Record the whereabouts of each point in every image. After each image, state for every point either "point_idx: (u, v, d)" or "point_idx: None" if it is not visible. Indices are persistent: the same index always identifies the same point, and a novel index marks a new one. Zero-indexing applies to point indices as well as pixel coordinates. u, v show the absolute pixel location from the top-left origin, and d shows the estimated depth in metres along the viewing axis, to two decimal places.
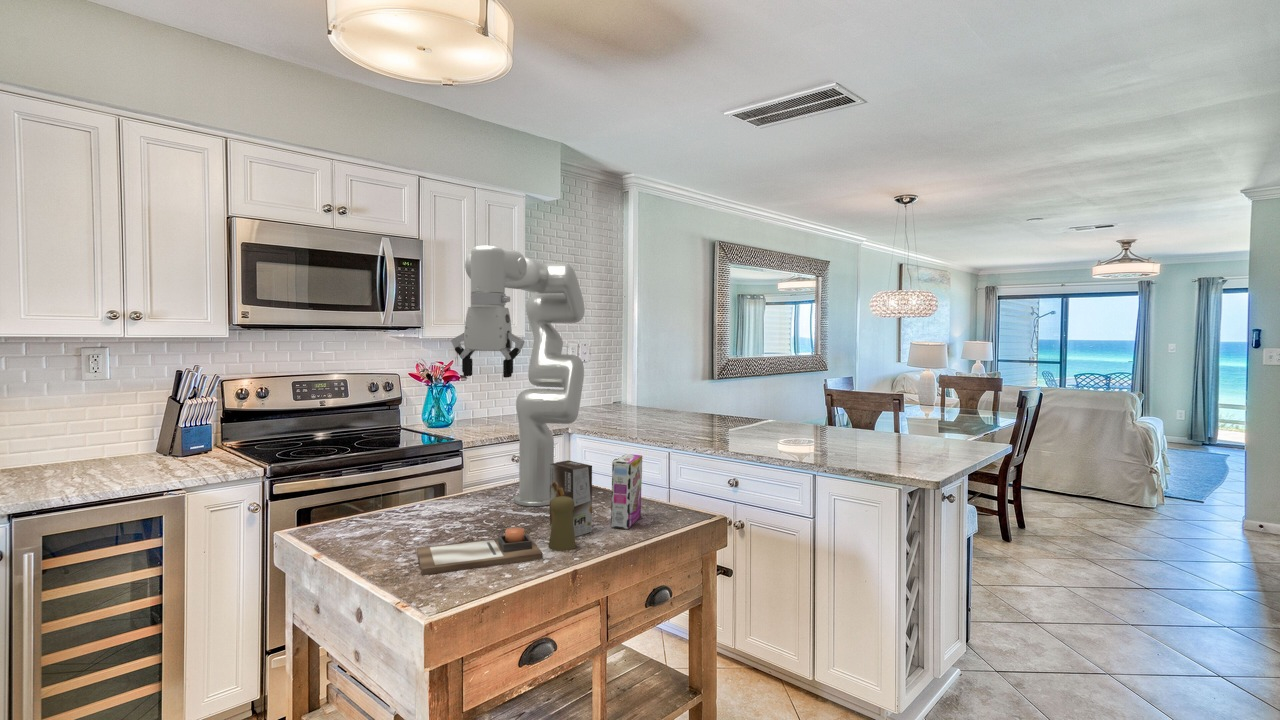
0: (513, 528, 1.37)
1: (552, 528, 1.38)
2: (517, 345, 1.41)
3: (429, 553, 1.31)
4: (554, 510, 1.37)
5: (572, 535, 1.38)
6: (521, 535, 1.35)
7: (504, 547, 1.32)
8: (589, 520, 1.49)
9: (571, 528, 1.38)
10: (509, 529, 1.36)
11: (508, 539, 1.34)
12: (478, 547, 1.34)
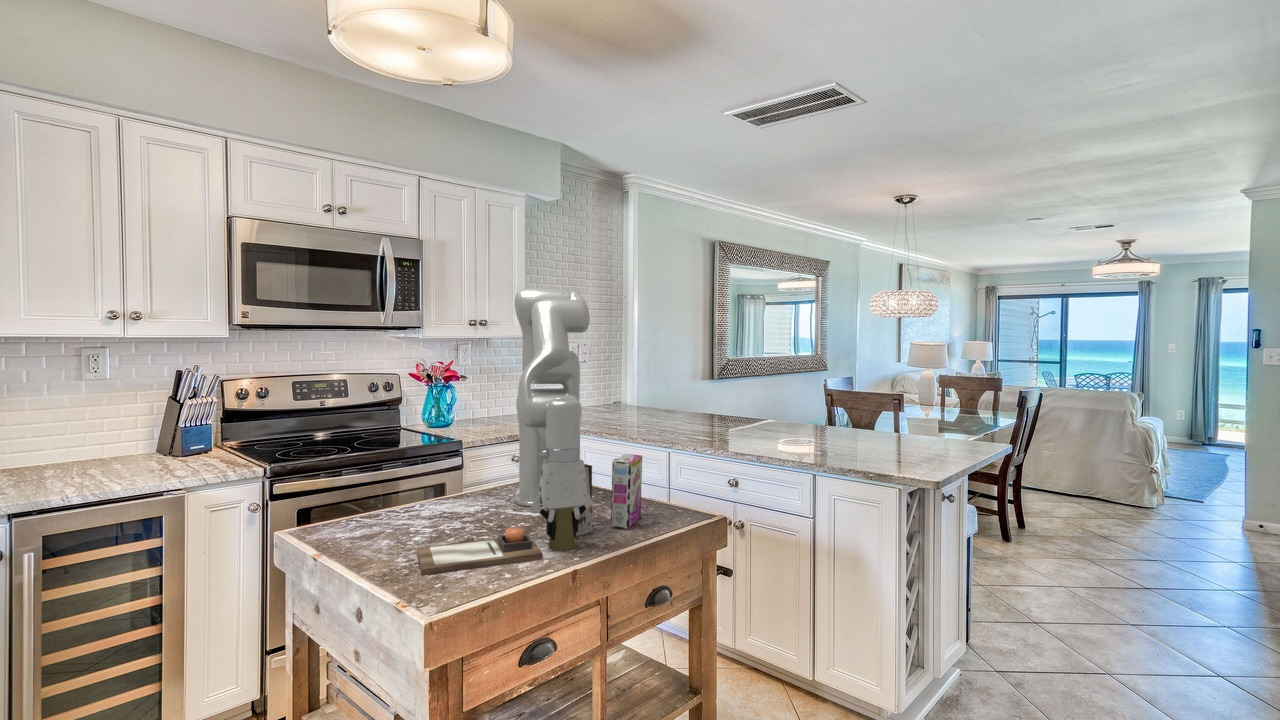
0: (513, 528, 1.37)
1: None
2: None
3: (429, 553, 1.31)
4: None
5: (572, 535, 1.38)
6: (521, 535, 1.35)
7: (504, 547, 1.32)
8: (589, 520, 1.49)
9: (571, 528, 1.38)
10: (509, 529, 1.36)
11: (508, 539, 1.34)
12: (478, 547, 1.34)
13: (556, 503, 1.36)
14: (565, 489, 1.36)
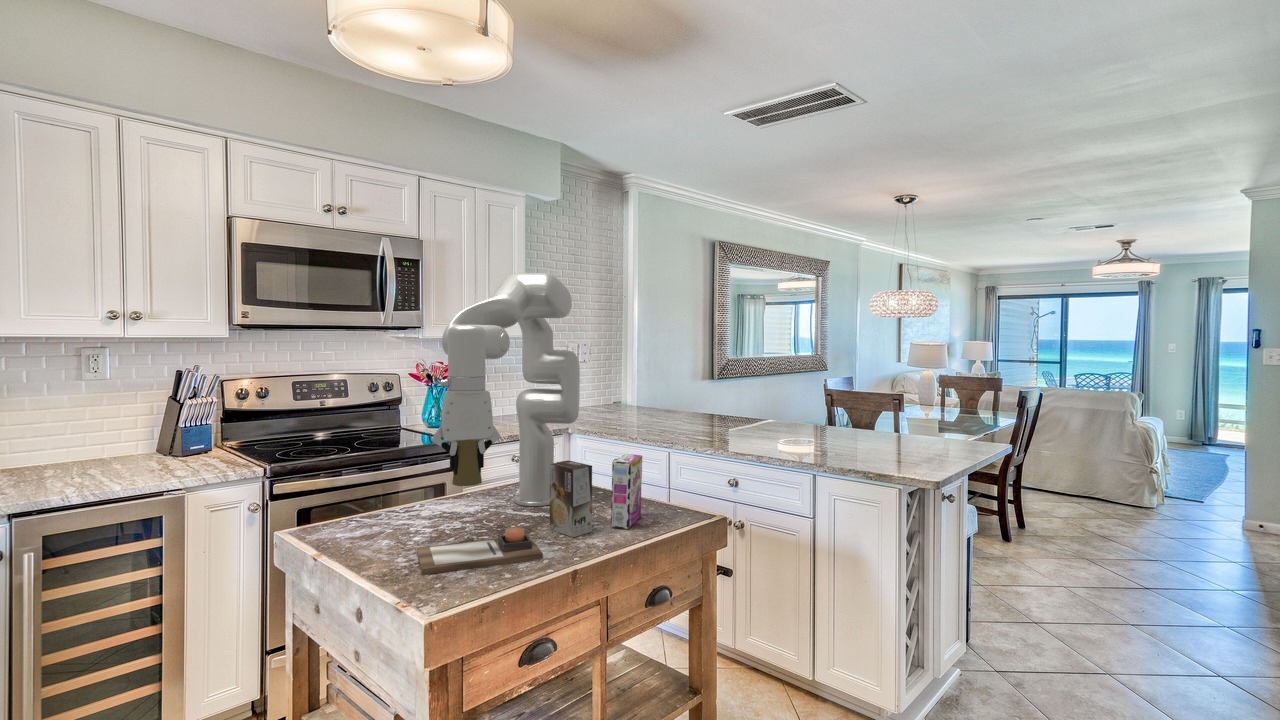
0: (513, 528, 1.37)
1: None
2: None
3: (429, 553, 1.31)
4: (457, 443, 1.29)
5: (477, 470, 1.30)
6: (521, 535, 1.35)
7: (504, 547, 1.32)
8: (589, 520, 1.49)
9: (476, 463, 1.30)
10: (509, 529, 1.36)
11: (508, 539, 1.34)
12: (478, 547, 1.34)
13: (457, 435, 1.27)
14: (468, 420, 1.28)
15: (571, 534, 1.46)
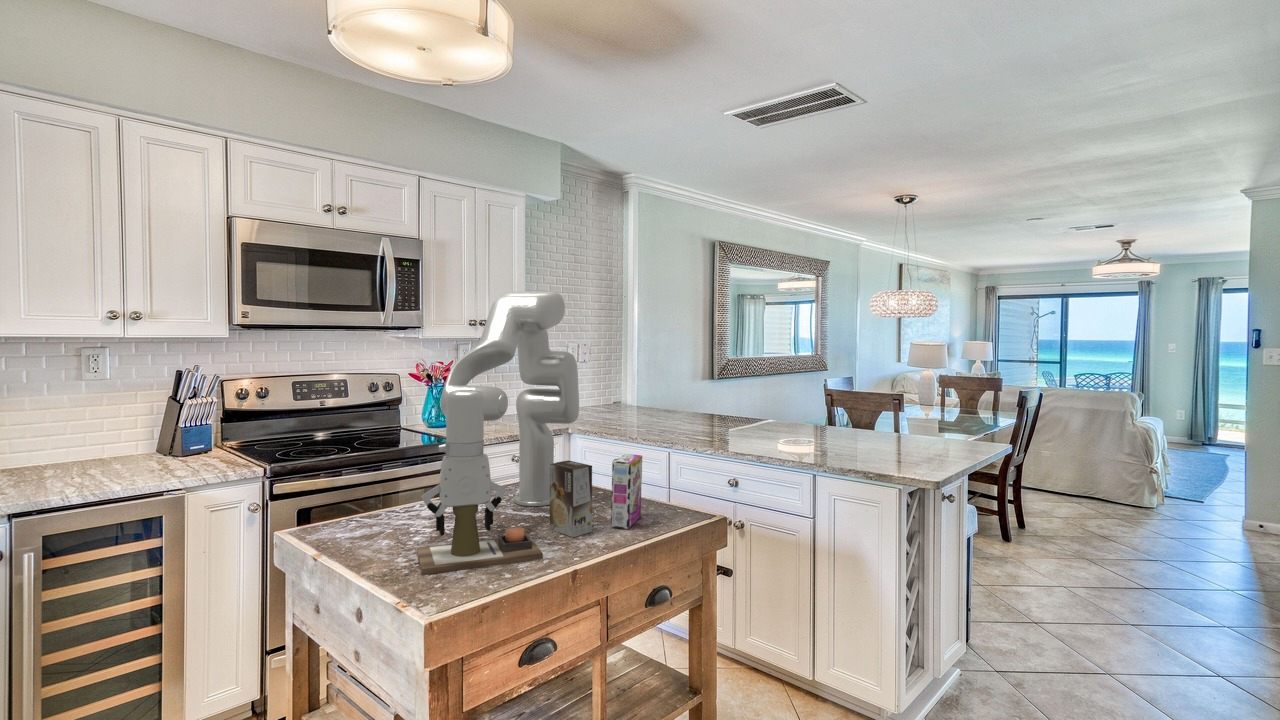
0: (513, 528, 1.37)
1: (454, 532, 1.30)
2: None
3: (429, 553, 1.31)
4: (455, 513, 1.30)
5: (475, 539, 1.31)
6: (521, 535, 1.35)
7: (504, 547, 1.32)
8: (589, 520, 1.49)
9: (474, 532, 1.31)
10: (509, 529, 1.36)
11: (508, 539, 1.34)
12: None
13: (455, 500, 1.28)
14: (466, 485, 1.28)
15: (571, 534, 1.46)
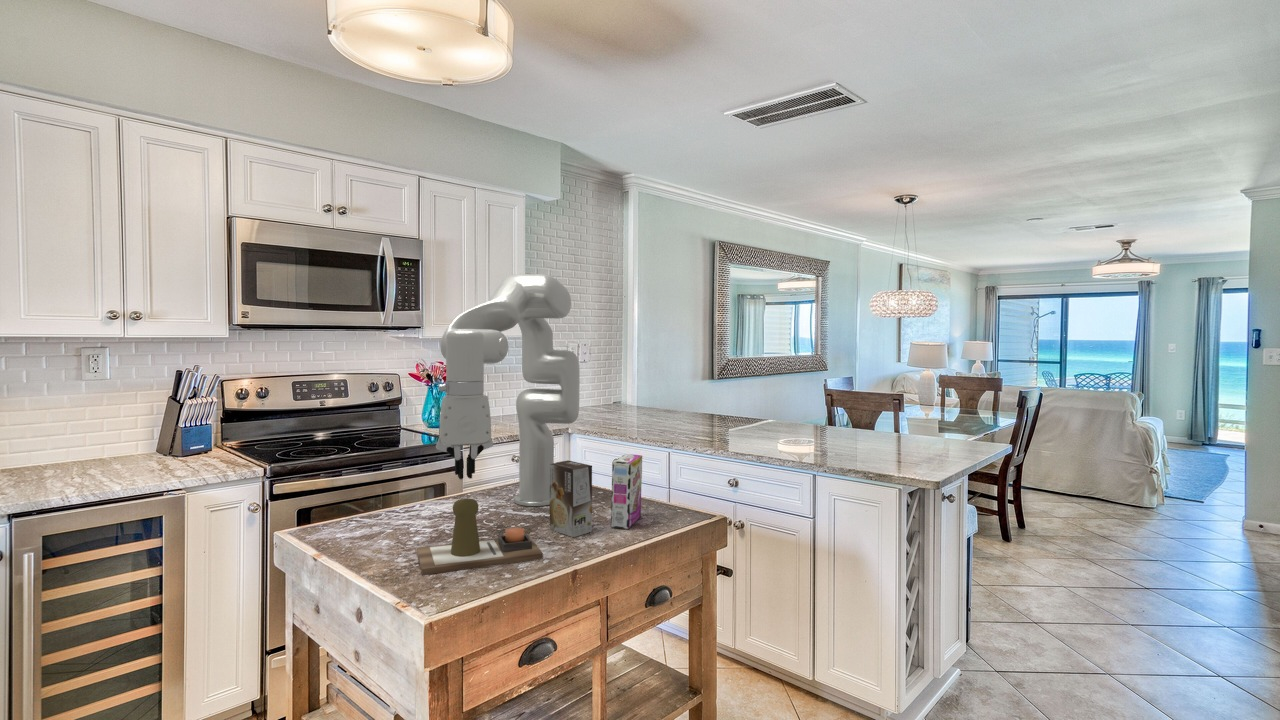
0: (513, 528, 1.37)
1: (454, 532, 1.30)
2: None
3: (429, 553, 1.31)
4: (455, 513, 1.30)
5: (475, 540, 1.31)
6: (521, 535, 1.35)
7: (504, 547, 1.32)
8: (589, 520, 1.49)
9: (474, 532, 1.31)
10: (509, 529, 1.36)
11: (508, 539, 1.34)
12: None
13: (455, 439, 1.27)
14: (466, 425, 1.28)
15: (571, 534, 1.46)
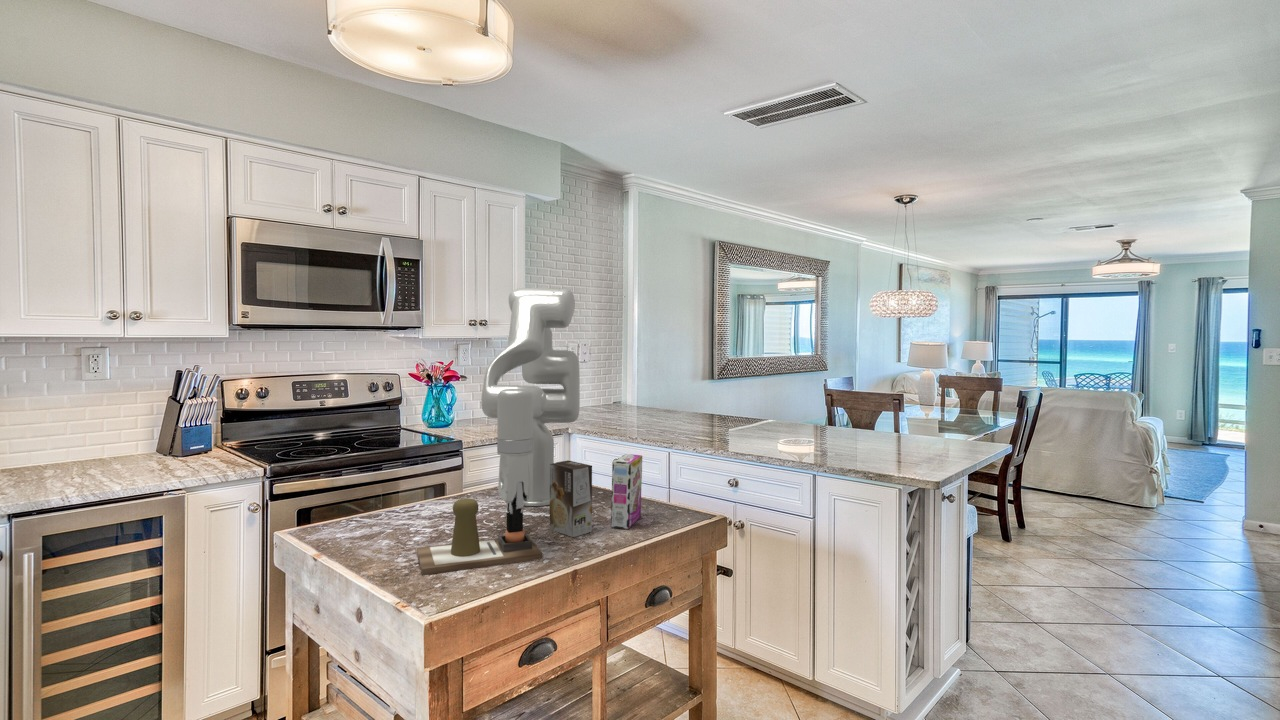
0: None
1: (454, 532, 1.30)
2: None
3: (429, 553, 1.31)
4: (455, 513, 1.30)
5: (475, 540, 1.31)
6: (521, 535, 1.35)
7: (504, 547, 1.32)
8: (589, 520, 1.49)
9: (474, 532, 1.31)
10: None
11: (508, 540, 1.34)
12: None
13: (499, 490, 1.36)
14: (501, 479, 1.34)
15: (571, 534, 1.46)
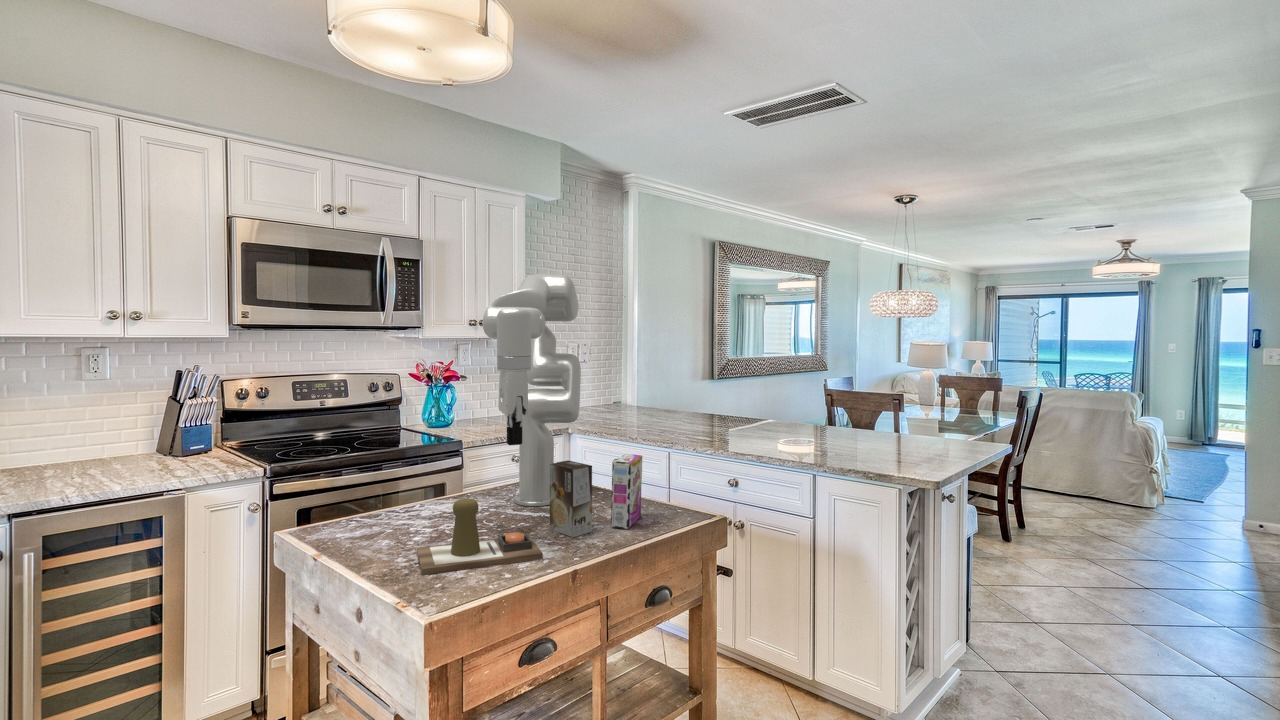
0: (513, 533, 1.37)
1: (454, 532, 1.30)
2: None
3: (429, 553, 1.31)
4: (455, 513, 1.30)
5: (475, 540, 1.31)
6: (521, 540, 1.35)
7: (504, 547, 1.32)
8: (589, 520, 1.49)
9: (474, 532, 1.31)
10: (509, 534, 1.36)
11: None
12: None
13: (499, 406, 1.43)
14: (501, 395, 1.41)
15: (571, 534, 1.46)
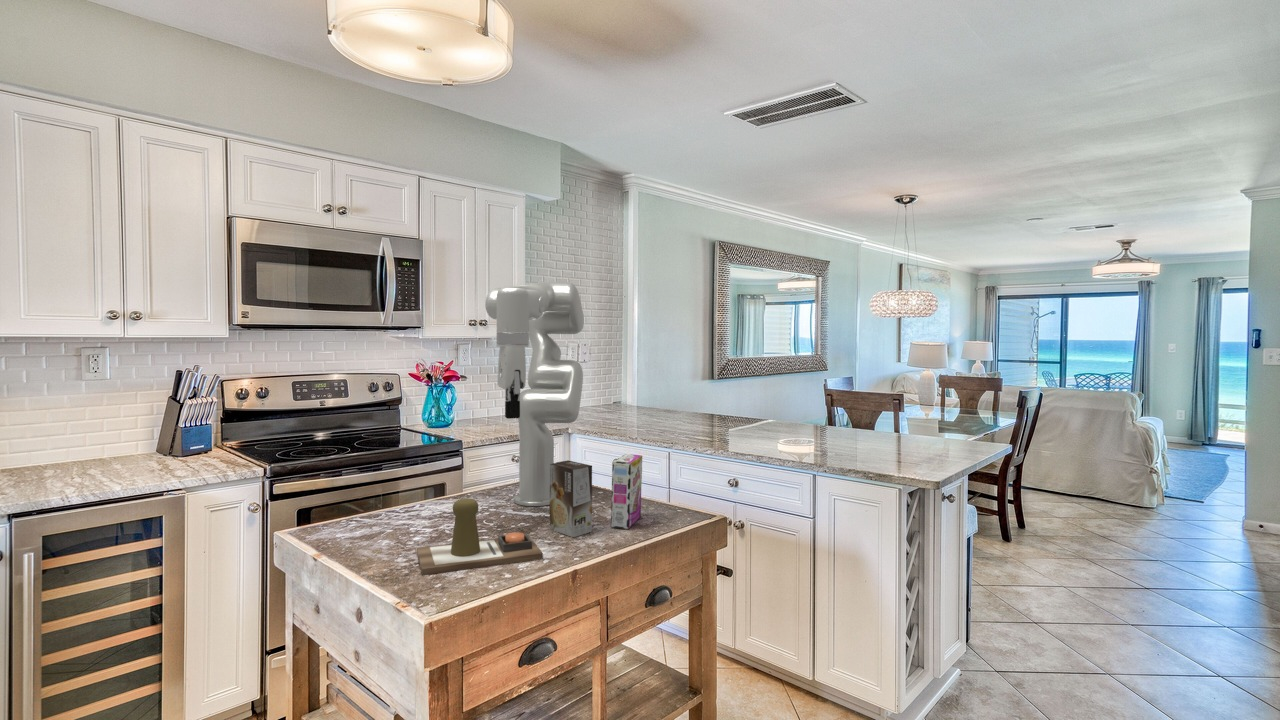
0: (513, 533, 1.37)
1: (454, 532, 1.30)
2: None
3: (429, 553, 1.31)
4: (455, 513, 1.30)
5: (475, 540, 1.31)
6: (521, 540, 1.35)
7: (504, 547, 1.32)
8: (589, 520, 1.49)
9: (474, 532, 1.31)
10: (509, 534, 1.36)
11: None
12: None
13: (498, 381, 1.50)
14: (500, 370, 1.48)
15: (571, 534, 1.46)
